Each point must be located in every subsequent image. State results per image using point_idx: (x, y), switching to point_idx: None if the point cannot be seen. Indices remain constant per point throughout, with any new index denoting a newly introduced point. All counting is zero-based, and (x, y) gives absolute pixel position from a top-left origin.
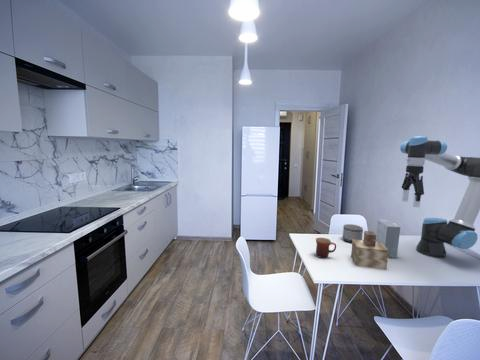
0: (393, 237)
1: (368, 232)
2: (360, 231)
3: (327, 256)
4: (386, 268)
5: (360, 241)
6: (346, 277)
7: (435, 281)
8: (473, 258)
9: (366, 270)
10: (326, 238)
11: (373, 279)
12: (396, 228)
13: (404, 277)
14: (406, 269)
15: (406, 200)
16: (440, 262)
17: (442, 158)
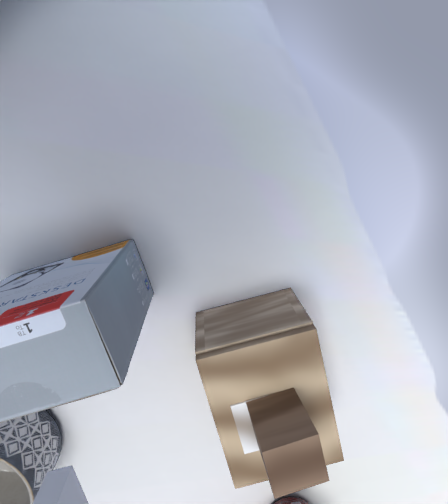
0: (121, 305)
1: (291, 476)
2: (9, 453)
3: (300, 499)
4: (291, 290)
5: (249, 452)
6: (431, 416)
7: (311, 104)
8: None
9: (341, 359)
10: None
11: (406, 334)
12: (99, 322)
13: (334, 225)
14: (245, 208)
15: (74, 501)
16: (45, 19)
17: None
